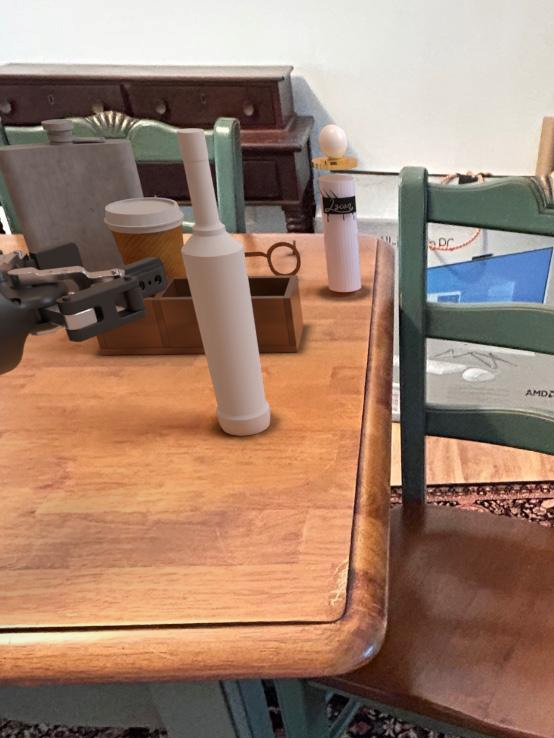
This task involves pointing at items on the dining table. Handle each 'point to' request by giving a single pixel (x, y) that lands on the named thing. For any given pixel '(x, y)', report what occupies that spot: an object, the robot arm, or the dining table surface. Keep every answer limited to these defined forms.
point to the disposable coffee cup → (148, 231)
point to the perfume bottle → (338, 211)
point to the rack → (180, 325)
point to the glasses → (269, 252)
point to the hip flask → (70, 191)
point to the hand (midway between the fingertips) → (118, 263)
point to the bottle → (222, 300)
